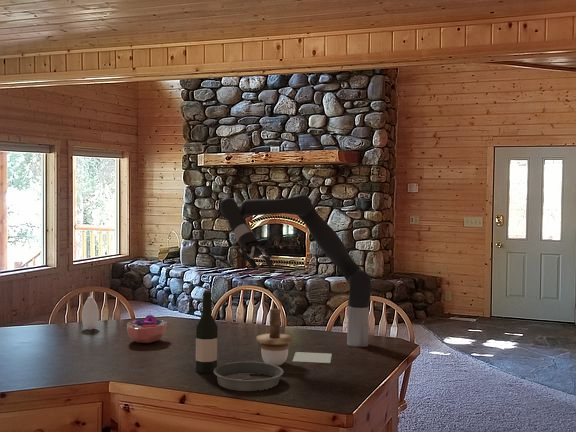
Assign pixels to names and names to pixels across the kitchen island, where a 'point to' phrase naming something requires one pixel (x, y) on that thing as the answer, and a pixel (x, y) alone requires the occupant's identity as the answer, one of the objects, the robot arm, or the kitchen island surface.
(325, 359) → the mat
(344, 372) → the kitchen island surface
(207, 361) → the wine bottle
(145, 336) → the cell model
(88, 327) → the sauce bottle
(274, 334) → the lid
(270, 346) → the lidded jar
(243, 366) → the cake pan
